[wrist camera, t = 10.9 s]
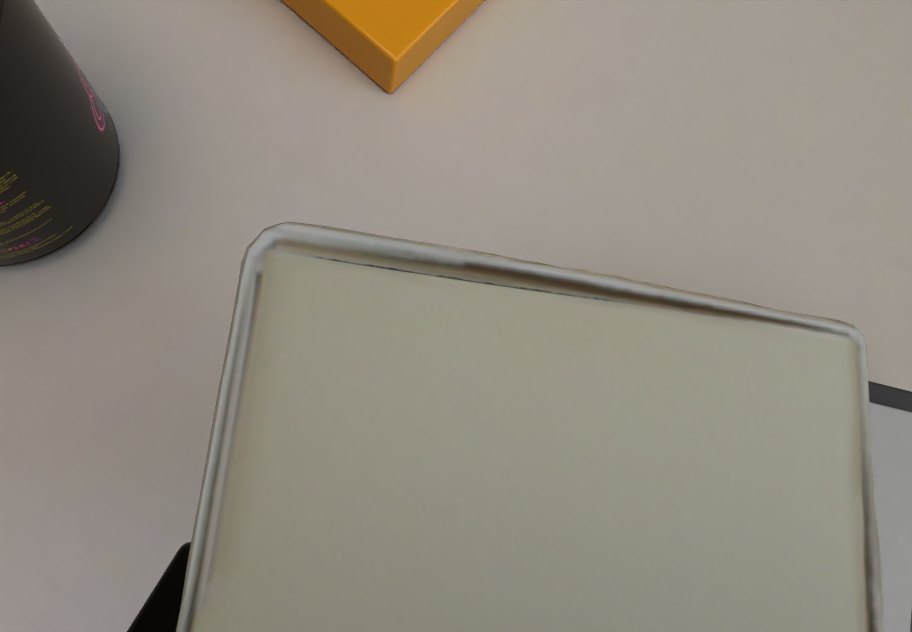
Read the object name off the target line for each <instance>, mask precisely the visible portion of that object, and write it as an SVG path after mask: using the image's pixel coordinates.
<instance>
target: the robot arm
mask: <svg viewBox="0 0 912 632" xmlns="http://www.w3.org/2000/svg"><path fill="white" fill-rule="evenodd" d="M190 546H191V542H188V543H185V544H184V545H182V546H181V548H180V549H179V550H178V552H177V553H176V555H175V557H174V558H173V560H172V561H171V563H170V564H169V566H168V568H167V569H166V571H165V572H164V574H163V576H162V577H161V579H160V580H159V582H158V583H157V585H156V587H155V588H154V590H153V591H152V593H151V594H150V596H149V598H148V599H147V601H146V602H145V604H144V606H143V607H142V609H141V610H140V612H139V613H138V615H137V617H136V618H135V620H134V621H133V623H132V625H131V626H130V628H129V629H128V631H127V632H176V629H177V623H178V618H179V613H180V608H181V602H182V595H183V589H184V582H185V576H186V569H187V563H188V557H189V552H190Z"/></svg>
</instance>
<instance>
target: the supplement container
mask: <svg viewBox="0 0 912 632" xmlns="http://www.w3.org/2000/svg"><path fill="white" fill-rule="evenodd" d="M119 167H120V148H119V141H118V136H117V132H116V129H115V126H114V123H113V121H112V118H111V116H110V114H109V112H108V111H107V109H106V107H105V106H104V104H103V103H102V101H101V100H100V98H99V97H98V95H97V94H96V92H95V91H94V89H93V88H92V86H91V85H90V83H89V82H88V80H87V79H86V77H85V76H84V74H83V73H82V71H81V70H80V68H79V67H78V65H77V64H76V62H75V61H74V59H73V58H72V56H71V55H70V53H69V52H68V50H67V49H66V47H65V46H64V45H63V43H62V42H61V40H60V39H59V37H58V36H57V34H56V33H55V31H54V30H53V28H52V27H51V25H50V24H49V22H48V21H47V19H46V18H45V16H44V15H43V13H42V12H41V10H40V9H39V7H38V6H37V4H36V3H35V1H34V0H0V267H9V266H16V265H21V264H26V263H30V262H33V261H37V260H40V259H43V258H45V257H48V256H50V255H53V254H55V253H57V252H59V251H61V250H63V249H64V248H66V247H67V246H69V245H71V244H72V243H74V242H75V241H76V240H78V239H79V238H80V237H81V236H83V235H84V234H85V233H86V232H87V231H88V230H89V229H90V228H91V227H92V226H93V225H94V223H95V222H96V221H97V220H98V219H99V217H100V216H101V214H102V213H103V212H104V210H105V208H106V207H107V205H108V203H109V201H110V199H111V197H112V194H113V192H114V189H115V186H116V182H117V178H118V173H119Z"/></svg>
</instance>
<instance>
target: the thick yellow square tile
mask: <svg viewBox="0 0 912 632" xmlns="http://www.w3.org/2000/svg"><path fill="white" fill-rule="evenodd" d="M282 1H283V2H284V3H285V4H287V5H288V6H289V7H290V8H291V9H292V10H294V11H295V12H296V13H297V14H298V15H299V16H300V17H302V18H303V19H304V20H305V21H306V22H307V23H308V24H310V25H311V26H312V27H313V28H314V29H315V30H316V31H318V32H319V33H320V34H321V35H322V36H323V37H324V38H326V39H327V40H328V41H329V42H330V43H331V44H332V45H334V46H335V47H336V48H337V49H338V50H339V51H340V52H342V53H343V54H344V55H345V56H346V57H347V58H348V59H350V60H351V61H352V62H353V63H354V64H355V65H357V66H358V67H359V68H360V69H361V70H362V71H363V72H365V73H366V74H367V75H368V76H369V77H370V78H371V79H373V80H374V81H375V82H376V83H377V84H378V85H379V86H381V87H382V88H383V89H384V90H385V91H386V92H387V93H389V94H391V93H393V92H394V91H395V90H396V89H397V88H398V87H399V86H400V85H401V84H402V83H403V82H404V81H405V80H406V79H407V78H408V77H409V76H410V75H411V74H412V73H413V72H414V71H415V70H416V69H417V68H418V67H419V66H420V65H421V64H422V63H423V62H424V61H425V60H426V59H427V58H428V57H429V56H430V55H431V54H432V53H433V52H434V51H435V50H436V49H437V48H438V47H439V46H440V45H441V44H442V43H443V42H444V41H445V40H446V39H447V38H448V37H449V36H450V35H451V34H452V33H453V32H454V31H455V30H456V29H457V28H458V27H459V26H460V25H461V24H462V23H463V22H464V21H465V20H466V19H467V18H468V17H469V16H470V15H471V14H472V13H473V12H474V11H475V10H476V9H477V8H478V7H479V6H480V5H481V4H482V3H483V2H484V1H485V0H282Z"/></svg>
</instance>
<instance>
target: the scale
mask: <svg viewBox="0 0 912 632" xmlns="http://www.w3.org/2000/svg"><path fill="white" fill-rule="evenodd" d="M868 386H869V403H870V421H871V436H872V446H873V456H874V465H875V475H876V504H877V515H878V526H879V537H880V548H881V561H882V579H883V596H884V627H885V632H912V392H910V391H906V390H902V389H898V388H894V387H890V386H886V385H882V384H878V383H874V382H870V381H868Z"/></svg>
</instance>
